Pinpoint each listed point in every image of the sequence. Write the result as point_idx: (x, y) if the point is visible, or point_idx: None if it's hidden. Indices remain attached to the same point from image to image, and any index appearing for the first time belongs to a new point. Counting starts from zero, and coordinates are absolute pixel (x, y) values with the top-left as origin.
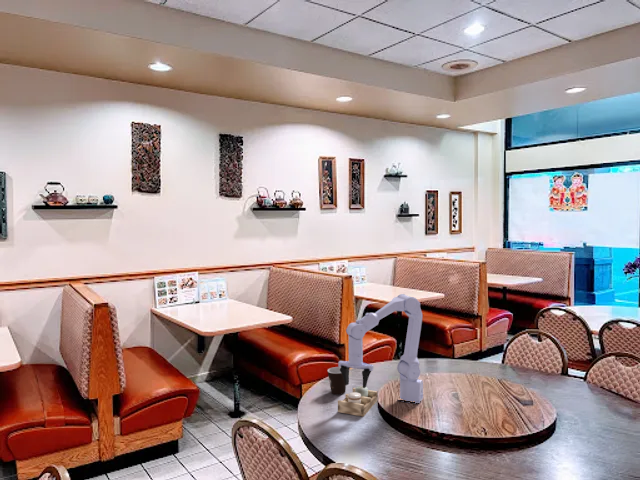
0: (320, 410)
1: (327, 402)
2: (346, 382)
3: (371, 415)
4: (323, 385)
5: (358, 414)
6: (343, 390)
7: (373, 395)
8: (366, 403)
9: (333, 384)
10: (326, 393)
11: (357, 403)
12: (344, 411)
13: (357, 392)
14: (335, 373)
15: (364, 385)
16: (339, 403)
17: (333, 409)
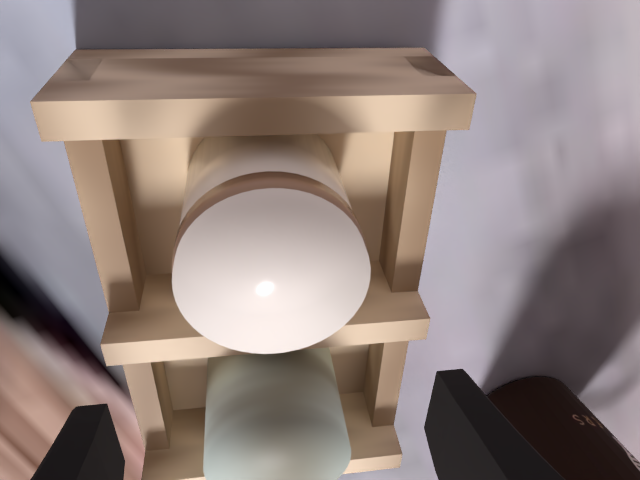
0: (622, 48)
1: (574, 239)
2: (461, 408)
3: (4, 118)
4: (636, 451)
5: (145, 54)
6: None
7: (181, 444)
8: (128, 265)
9: (596, 443)
10: (603, 369)
11: (161, 133)
12: (341, 53)
13: (302, 390)
14: None
15: (51, 448)
16: (438, 82)
17: (489, 120)
